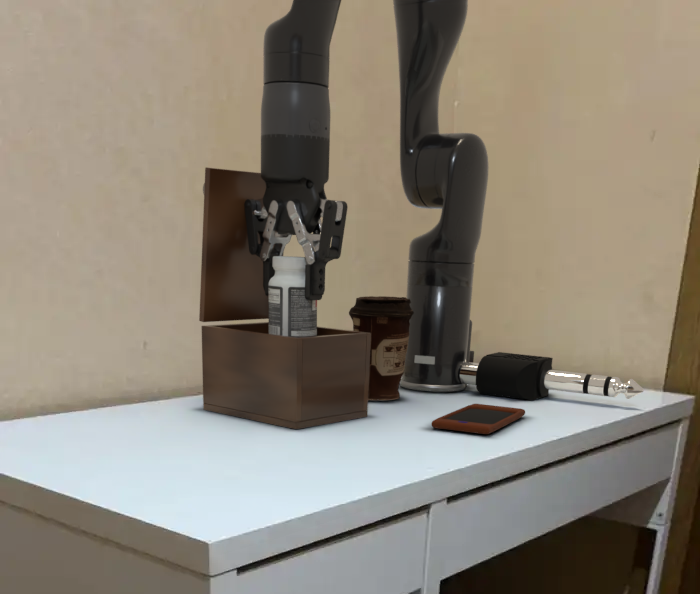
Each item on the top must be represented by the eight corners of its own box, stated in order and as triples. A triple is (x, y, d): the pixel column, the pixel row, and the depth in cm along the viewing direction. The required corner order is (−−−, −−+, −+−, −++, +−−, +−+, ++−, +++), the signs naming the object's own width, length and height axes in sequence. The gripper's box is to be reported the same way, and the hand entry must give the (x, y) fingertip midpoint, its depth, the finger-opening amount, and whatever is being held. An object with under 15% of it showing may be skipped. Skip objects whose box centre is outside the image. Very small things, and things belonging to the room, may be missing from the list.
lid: (289, 176, 111) (257, 171, 114) (209, 167, 102) (177, 163, 105) (278, 318, 119) (249, 310, 122) (203, 322, 110) (173, 313, 113)
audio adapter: (489, 348, 140) (657, 365, 128) (485, 384, 142) (650, 405, 130) (458, 354, 131) (635, 373, 120) (455, 393, 133) (628, 415, 122)
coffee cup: (420, 398, 128) (427, 298, 123) (390, 406, 121) (395, 300, 116) (366, 391, 132) (370, 294, 127) (334, 398, 125) (337, 295, 120)
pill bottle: (319, 345, 112) (321, 257, 109) (312, 351, 107) (315, 258, 103) (272, 343, 113) (273, 255, 109) (264, 348, 108) (264, 256, 104)
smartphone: (430, 419, 107) (472, 402, 120) (429, 428, 108) (472, 409, 120) (489, 426, 104) (526, 408, 117) (488, 435, 105) (525, 416, 117)
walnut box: (367, 416, 114) (371, 332, 110) (296, 429, 105) (297, 338, 101) (275, 399, 123) (276, 321, 119) (203, 409, 114) (201, 325, 110)
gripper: (368, 136, 100) (361, 302, 106) (272, 139, 108) (271, 293, 115) (321, 128, 95) (317, 303, 101) (224, 133, 103) (226, 294, 110)
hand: (293, 297), depth 108 cm, fingers closed on pill bottle, 5 cm apart
